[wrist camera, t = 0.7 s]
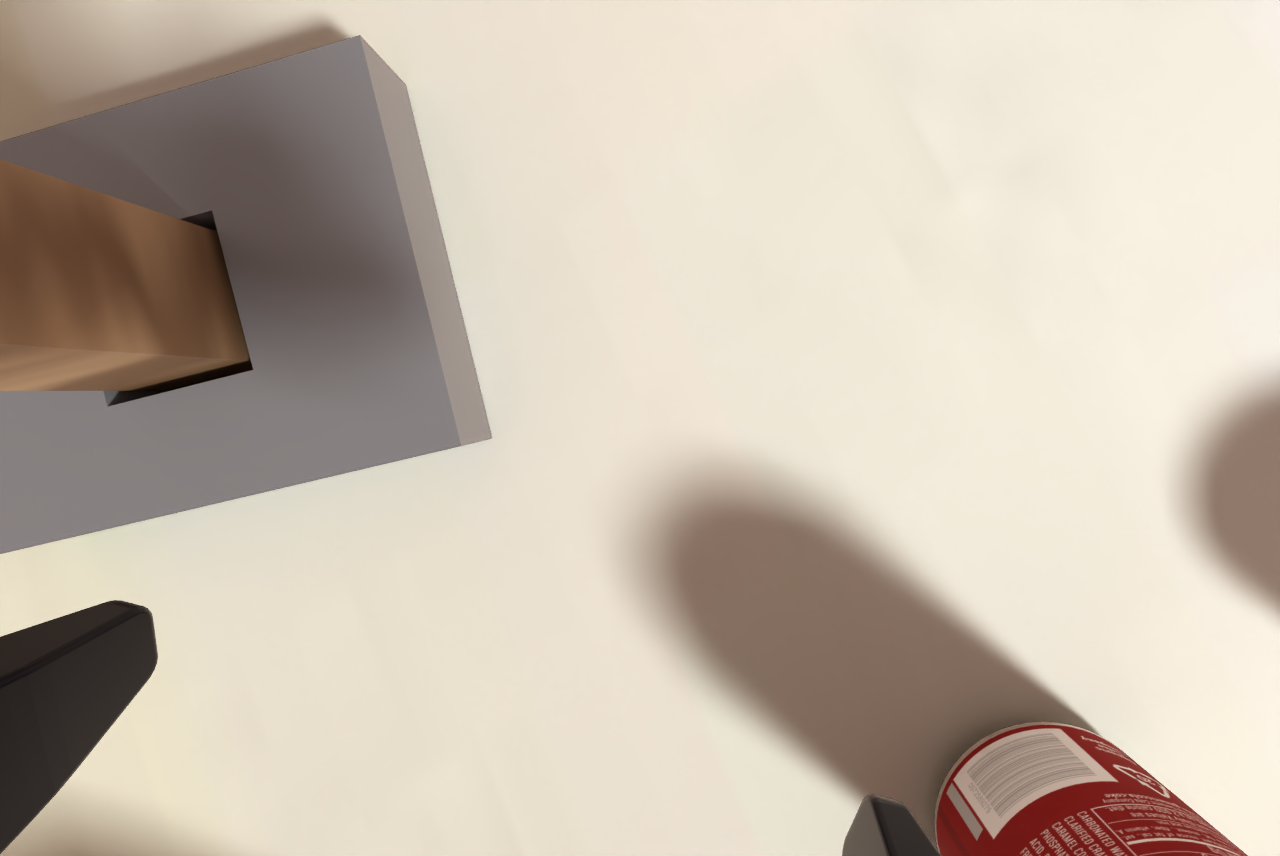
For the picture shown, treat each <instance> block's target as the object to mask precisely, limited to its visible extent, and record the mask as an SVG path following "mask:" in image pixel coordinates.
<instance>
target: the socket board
mask: <svg viewBox="0 0 1280 856" xmlns="http://www.w3.org/2000/svg"><path fill="white" fill-rule="evenodd" d="M0 159H1V160H4V161H7V162H10V163H13V164H16V165H19V166H22V167H25V168H28V169H31V170H34V171H37V172H40V173H43V174H46V175H49V176H52V177H55V178H58V179H61V180H64V181H67V182H70V183H73V184H76V185H79V186H82V187H85V188H88V189H91V190H94V191H97V192H100V193H103V194H106V195H109V196H112V197H115V198H118V199H121V200H124V201H127V202H130V203H133V204H136V205H139V206H142V207H145V208H148V209H151V210H154V211H157V212H160V213H163V214H166V215H168V216H171V217H174V218H177V219H180V220H183V221H186V222H189V223H192V224H195V225H198V226H201V227H204V228H207V229H210V230H213V231H216V232H218V235H219V239H220V243H221V247H222V251H223V255H224V259H225V263H226V266H227V270H228V274H229V278H230V282H231V286H232V290H233V293H234V297H235V301H236V305H237V309H238V313H239V317H240V321H241V324H242V328H243V332H244V336H245V340H246V344H247V348H248V351H249V355H250V359H251V363H252V367H253V370H251V371H247V372H243V373H239V374H235V375H231V376H227V377H223V378H219V379H215V380H211V381H207V382H203V383H199V384H195V385H191V386H187V387H183V388H180V389H176V390H172V391H0V554H3V553H7V552H11V551H15V550H20V549H24V548H28V547H32V546H37V545H41V544H45V543H49V542H54V541H58V540H62V539H66V538H71V537H75V536H79V535H84V534H88V533H92V532H96V531H101V530H105V529H109V528H113V527H118V526H122V525H126V524H130V523H135V522H139V521H143V520H147V519H152V518H156V517H160V516H165V515H169V514H173V513H177V512H182V511H186V510H190V509H194V508H199V507H203V506H207V505H211V504H216V503H220V502H224V501H228V500H233V499H237V498H241V497H246V496H250V495H254V494H258V493H263V492H267V491H271V490H275V489H280V488H284V487H288V486H292V485H297V484H301V483H305V482H309V481H314V480H318V479H322V478H327V477H331V476H335V475H339V474H344V473H348V472H352V471H356V470H361V469H365V468H369V467H373V466H378V465H382V464H386V463H390V462H395V461H399V460H403V459H407V458H412V457H416V456H420V455H425V454H429V453H433V452H437V451H442V450H446V449H450V448H454V447H459V446H463V445H467V444H471V443H475V442H479V441H483V440H487V439H491V438H492V435H491V431H490V427H489V423H488V419H487V415H486V411H485V407H484V403H483V399H482V395H481V390H480V386H479V382H478V378H477V374H476V370H475V366H474V362H473V358H472V354H471V350H470V345H469V341H468V337H467V333H466V329H465V325H464V321H463V317H462V313H461V309H460V305H459V300H458V296H457V292H456V288H455V284H454V280H453V276H452V272H451V268H450V264H449V260H448V255H447V251H446V247H445V243H444V239H443V235H442V231H441V227H440V223H439V219H438V215H437V210H436V206H435V202H434V198H433V194H432V190H431V186H430V182H429V178H428V174H427V170H426V166H425V161H424V157H423V153H422V149H421V145H420V141H419V137H418V133H417V129H416V125H415V121H414V116H413V112H412V108H411V104H410V100H409V96H408V92H407V88H406V84H405V83H404V82H403V81H402V80H401V79H400V78H399V77H398V76H397V75H396V73H395V72H394V71H393V70H392V69H391V68H390V67H389V66H388V65H387V64H386V63H385V62H384V61H383V59H382V58H381V57H380V56H379V55H378V54H377V53H376V52H375V51H374V50H373V49H372V48H371V47H370V45H369V44H368V43H367V42H366V41H365V40H364V39H363V38H362V37H361V36H360V35H359V36H355V37H352V38H349V39H345V40H342V41H339V42H335V43H332V44H328V45H325V46H322V47H318V48H315V49H312V50H308V51H305V52H301V53H298V54H295V55H291V56H288V57H285V58H281V59H278V60H274V61H271V62H268V63H264V64H261V65H258V66H254V67H251V68H247V69H244V70H241V71H237V72H234V73H231V74H227V75H224V76H220V77H217V78H214V79H210V80H207V81H204V82H200V83H197V84H193V85H190V86H187V87H183V88H180V89H177V90H173V91H170V92H166V93H163V94H160V95H156V96H153V97H150V98H146V99H143V100H139V101H136V102H133V103H129V104H126V105H122V106H119V107H116V108H112V109H109V110H106V111H102V112H99V113H95V114H92V115H89V116H85V117H82V118H79V119H75V120H72V121H68V122H65V123H62V124H58V125H55V126H52V127H48V128H45V129H41V130H38V131H35V132H31V133H28V134H25V135H21V136H18V137H14V138H11V139H8V140H4V141H1V142H0Z"/></svg>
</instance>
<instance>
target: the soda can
mask: <svg viewBox="0 0 1280 856" xmlns="http://www.w3.org/2000/svg"><path fill="white" fill-rule="evenodd" d="M934 824H935V836H936V842H937V847H938V850H939V853H940V854H941V856H1247V855H1246V854H1245V853H1244V852H1243V851H1241V850H1240V849H1239V848H1238V847H1237V846H1236V845H1234V844H1233V843H1232V842H1231V841H1230V840H1228V839H1227V838H1226V837H1225V836H1224V835H1222V834H1221V833H1220V832H1219V831H1218V830H1216V829H1215V828H1214V827H1213V826H1212V825H1210V824H1209V823H1208V822H1207V821H1206V820H1204V819H1203V818H1202V817H1201V816H1200V815H1198V814H1197V813H1196V812H1195V811H1194V810H1192V809H1191V808H1190V807H1189V806H1188V805H1186V804H1185V803H1184V802H1183V801H1182V800H1180V799H1179V798H1178V797H1177V796H1176V795H1174V794H1173V793H1172V792H1171V791H1170V790H1168V789H1167V788H1166V787H1165V786H1164V785H1162V784H1161V783H1160V782H1159V781H1158V780H1156V779H1155V778H1154V777H1153V776H1152V775H1150V774H1149V773H1148V772H1147V771H1146V770H1144V769H1143V768H1142V767H1141V766H1140V765H1138V764H1137V763H1136V762H1135V761H1134V760H1132V759H1131V758H1130V757H1129V756H1128V755H1126V754H1125V753H1124V752H1123V751H1122V750H1120V749H1119V748H1118V747H1116V746H1115V745H1114V744H1112V743H1111V742H1109V741H1108V740H1106V739H1105V738H1103V737H1101V736H1099V735H1097V734H1095V733H1093V732H1091V731H1088V730H1085V729H1083V728H1080V727H1076V726H1073V725H1069V724H1063V723H1056V722H1030V723H1023V724H1018V725H1014V726H1010V727H1007V728H1004V729H1001V730H999V731H996V732H994V733H992V734H990V735H988V736H986V737H984V738H983V739H981V740H980V741H978V742H977V743H975V744H974V745H973V746H971V747H970V748H969V749H968V750H967V751H966V752H965V753H964V754H963V755H962V756H961V757H960V758H959V759H958V760H957V761H956V762H955V764H954V765H953V767H952V768H951V769H950V771H949V772H948V774H947V776H946V778H945V780H944V782H943V784H942V786H941V789H940V792H939V795H938V798H937V803H936V808H935V818H934Z"/></svg>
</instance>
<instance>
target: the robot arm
mask: <svg viewBox="0 0 1280 856" xmlns="http://www.w3.org/2000/svg"><path fill="white" fill-rule="evenodd" d="M157 660H158V653H157V645H156V638H155V630H154V623H153V616H152V613H151V612H150V611H149V609H148V608H146V607H144V606H140V605H136V604H132V603H128V602H125V601H117V600H114V601H109V602H105V603H102V604H99V605H96V606H93V607H90V608H87V609H84V610H81V611H78V612H75V613H72V614H69V615H66V616H63V617H59V618H56V619H53V620H50V621H47V622H44V623H41V624H38V625H35V626H32V627H29V628H26V629H23V630H20V631H17V632H14V633H11V634H8V635H5V636H2V637H0V854H1V853H2V852H3V851H4V850H5V849H6V848H7V847H8V845H9V844H10V843H11V842H12V841H13V840H14V839H15V838H16V837H17V836H18V835H19V834H20V833H21V832H22V831H23V829H24V828H25V827H26V826H27V825H28V824H29V823H30V822H31V821H32V820H33V819H34V818H35V817H36V816H37V815H38V813H39V812H40V811H41V810H42V809H43V808H44V807H45V806H46V805H47V804H48V802H49V801H50V800H51V799H52V798H53V797H54V796H55V795H56V794H57V792H58V791H59V790H60V789H61V788H62V786H63V785H64V784H65V783H66V782H67V780H68V779H69V778H70V777H71V776H72V774H73V773H74V772H75V771H76V770H77V768H78V767H79V766H80V765H81V763H82V762H83V761H84V760H85V758H86V757H87V756H88V755H89V753H90V752H91V751H92V750H93V748H94V747H95V746H96V745H97V743H98V742H99V741H100V740H101V738H102V737H103V736H104V735H105V733H106V732H107V731H108V730H109V728H110V727H111V726H112V725H113V723H114V722H115V721H116V720H117V718H118V717H119V716H120V715H121V713H122V712H123V711H124V710H125V708H126V707H127V706H128V705H129V703H130V702H131V701H132V700H133V698H134V697H135V696H136V695H137V693H138V692H139V691H140V690H141V688H142V687H143V686H144V685H145V683H146V682H147V681H148V679H149V678H150V677H151V675H152V673H153V671H154V670H155V667H156V664H157ZM842 856H941V854H940V853H939V851H938V850H937V848H936V847H935V846H934V844H933V843H932V841H931V840H930V838H929V837H928V836H927V834H926V833H925V831H924V830H923V828H922V827H921V826H920V824H919V823H918V821H917V820H916V818H915V817H914V816H913V814H912V813H911V811H910V810H909V809H908V807H906V806H905V805H904V804H903V803H902V802H900V801H897V800H894V799H890V798H886V797H882V796H878V795H874V794H870V795H867V796H866V797H865V798H864V800H863V801H862V803H861V805H860V807H859V810H858V812H857V814H856V816H855V818H854V820H853V823H852V825H851V827H850V829H849V831H848V834H847V836H846V838H845V842H844V846H843V854H842Z"/></svg>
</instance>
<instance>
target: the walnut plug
mask: <svg viewBox="0 0 1280 856" xmlns="http://www.w3.org/2000/svg"><path fill="white" fill-rule="evenodd" d="M251 370H253V367H252V363H251V359H250V355H249V351H248V348H247V344H246V340H245V336H244V332H243V328H242V324H241V321H240V317H239V313H238V309H237V305H236V301H235V297H234V293H233V290H232V286H231V282H230V278H229V274H228V270H227V266H226V263H225V259H224V255H223V251H222V247H221V243H220V239H219V235H218V232H216V231H213V230H210V229H207V228H204V227H201V226H198V225H195V224H192V223H189V222H186V221H183V220H180V219H177V218H174V217H171V216H168V215H166V214H163V213H160V212H157V211H154V210H151V209H148V208H145V207H142V206H139V205H136V204H133V203H130V202H127V201H124V200H121V199H118V198H115V197H112V196H109V195H106V194H103V193H100V192H97V191H94V190H91V189H88V188H85V187H82V186H79V185H76V184H73V183H70V182H67V181H64V180H61V179H58V178H55V177H52V176H49V175H46V174H43V173H40V172H37V171H34V170H31V169H28V168H25V167H22V166H19V165H16V164H13V163H10V162H7V161H4V160H1V159H0V391H172V390H176V389H180V388H183V387H187V386H191V385H195V384H199V383H203V382H207V381H211V380H215V379H219V378H223V377H227V376H231V375H235V374H239V373H243V372H247V371H251Z"/></svg>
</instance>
